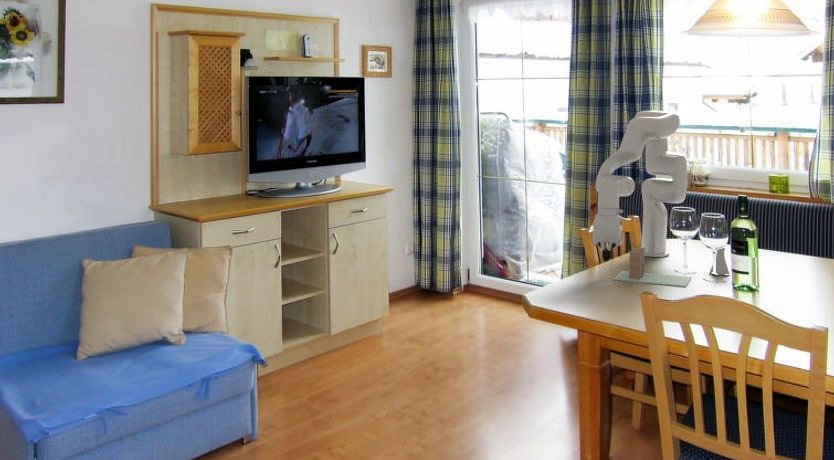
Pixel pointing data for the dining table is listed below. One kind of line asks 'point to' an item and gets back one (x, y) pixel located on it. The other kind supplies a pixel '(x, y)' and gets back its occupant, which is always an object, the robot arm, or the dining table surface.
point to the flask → (720, 263)
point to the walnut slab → (636, 263)
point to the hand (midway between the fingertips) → (606, 260)
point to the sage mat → (655, 279)
